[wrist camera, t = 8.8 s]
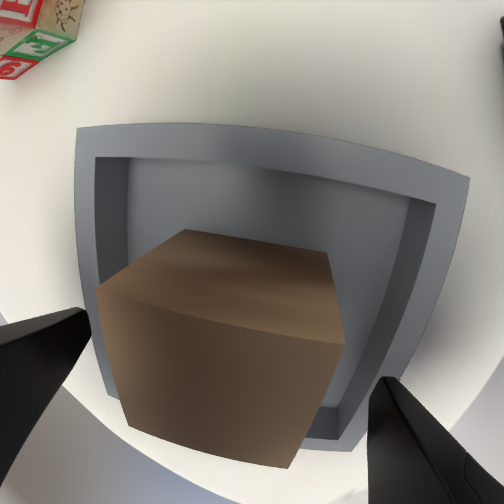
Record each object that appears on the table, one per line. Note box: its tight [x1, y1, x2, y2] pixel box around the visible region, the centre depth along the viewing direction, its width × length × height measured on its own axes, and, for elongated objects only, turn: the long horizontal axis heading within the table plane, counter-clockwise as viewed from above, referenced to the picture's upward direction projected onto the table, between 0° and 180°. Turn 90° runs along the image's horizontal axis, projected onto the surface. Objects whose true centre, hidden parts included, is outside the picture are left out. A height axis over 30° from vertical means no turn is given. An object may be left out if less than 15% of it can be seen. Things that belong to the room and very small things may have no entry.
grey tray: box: [74, 123, 470, 452], centre depth 10 cm, size 12×12×2 cm
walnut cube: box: [95, 229, 345, 469], centre depth 8 cm, size 5×5×5 cm
